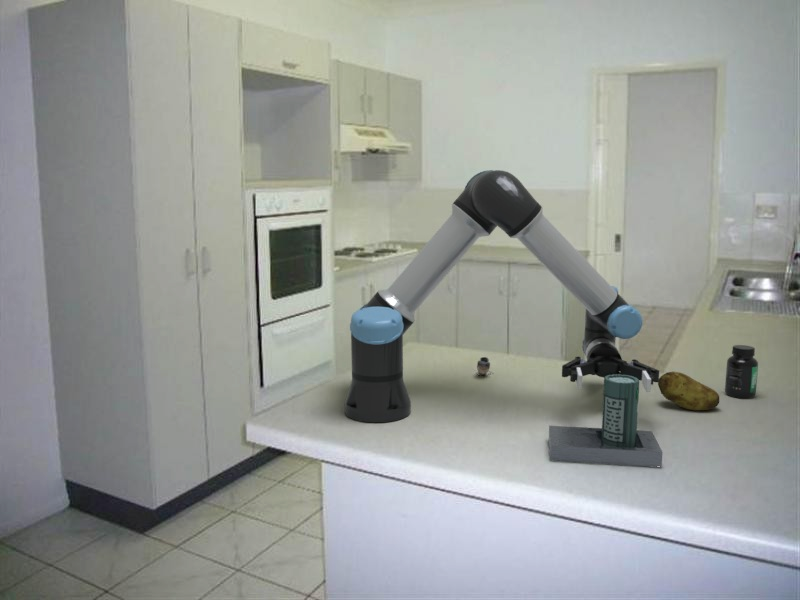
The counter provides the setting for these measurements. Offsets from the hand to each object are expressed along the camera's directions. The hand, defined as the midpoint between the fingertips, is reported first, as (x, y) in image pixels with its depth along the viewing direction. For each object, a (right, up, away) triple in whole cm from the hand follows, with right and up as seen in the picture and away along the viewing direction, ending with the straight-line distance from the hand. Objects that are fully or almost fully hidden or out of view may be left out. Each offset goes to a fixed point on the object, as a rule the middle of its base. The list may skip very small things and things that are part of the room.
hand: (614, 383), depth 144 cm
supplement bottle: (+39, -6, +27) cm, 48 cm away
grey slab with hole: (-5, -12, -8) cm, 16 cm away
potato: (+22, -8, +18) cm, 30 cm away
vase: (-22, -4, +44) cm, 49 cm away
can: (-2, -13, -9) cm, 15 cm away
